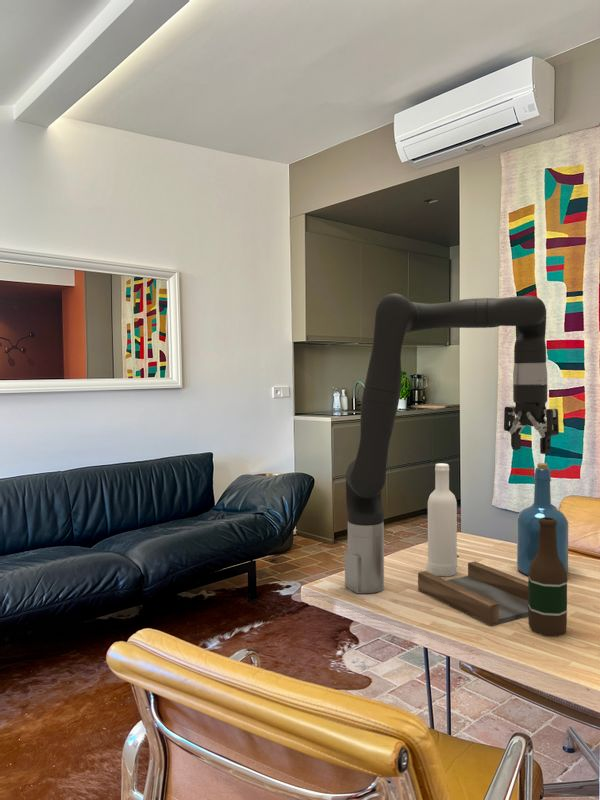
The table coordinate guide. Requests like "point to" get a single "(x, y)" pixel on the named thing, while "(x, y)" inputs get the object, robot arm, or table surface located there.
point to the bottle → (442, 526)
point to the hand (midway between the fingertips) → (530, 451)
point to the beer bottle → (547, 585)
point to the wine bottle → (531, 527)
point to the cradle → (480, 593)
